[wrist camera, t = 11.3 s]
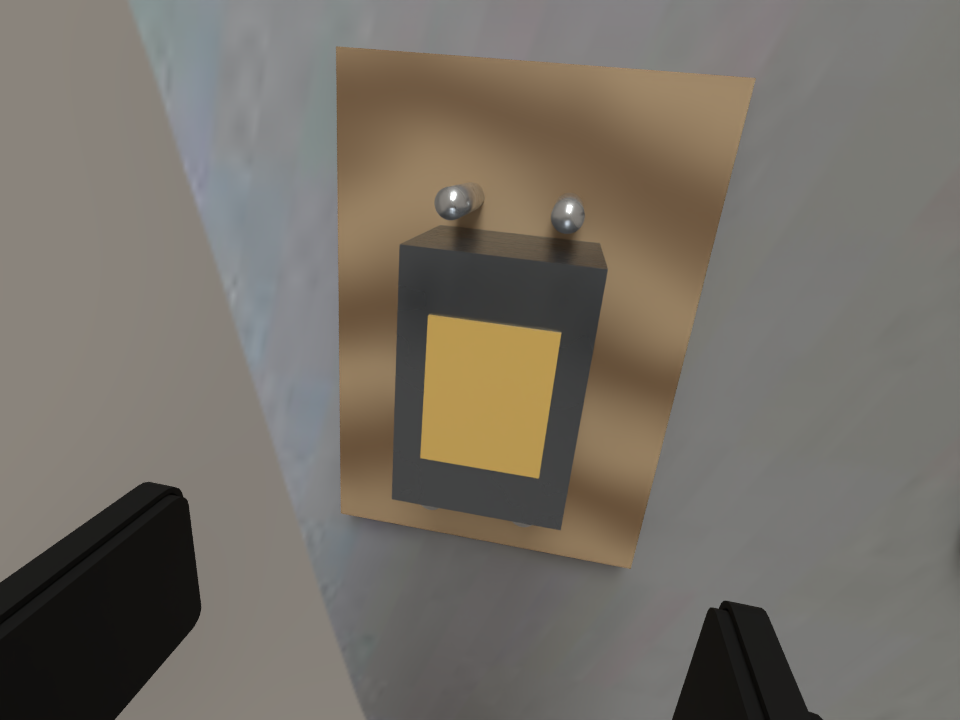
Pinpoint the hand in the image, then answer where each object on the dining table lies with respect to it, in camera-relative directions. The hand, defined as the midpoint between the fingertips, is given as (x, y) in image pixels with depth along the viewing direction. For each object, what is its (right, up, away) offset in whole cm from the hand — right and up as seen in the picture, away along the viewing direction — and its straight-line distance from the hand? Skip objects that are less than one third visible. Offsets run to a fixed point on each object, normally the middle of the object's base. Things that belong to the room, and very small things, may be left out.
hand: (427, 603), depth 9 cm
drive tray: (+2, +6, +13) cm, 15 cm away
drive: (+2, +5, +12) cm, 13 cm away
